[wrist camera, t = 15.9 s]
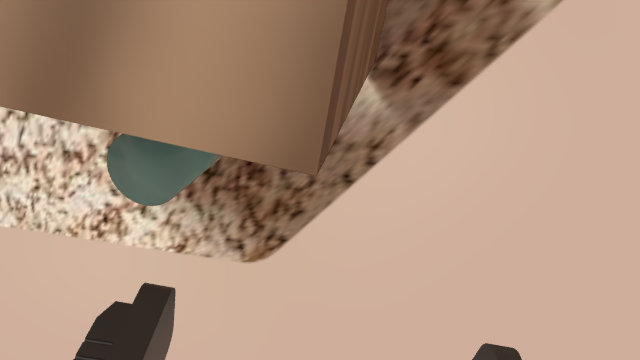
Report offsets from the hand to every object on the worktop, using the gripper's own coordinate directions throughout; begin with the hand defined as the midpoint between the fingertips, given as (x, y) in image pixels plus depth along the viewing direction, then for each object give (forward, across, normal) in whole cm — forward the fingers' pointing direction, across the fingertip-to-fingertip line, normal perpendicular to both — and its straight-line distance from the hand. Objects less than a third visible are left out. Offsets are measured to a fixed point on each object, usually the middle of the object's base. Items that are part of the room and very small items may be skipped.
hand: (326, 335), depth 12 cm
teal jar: (+31, +8, +11) cm, 34 cm away
